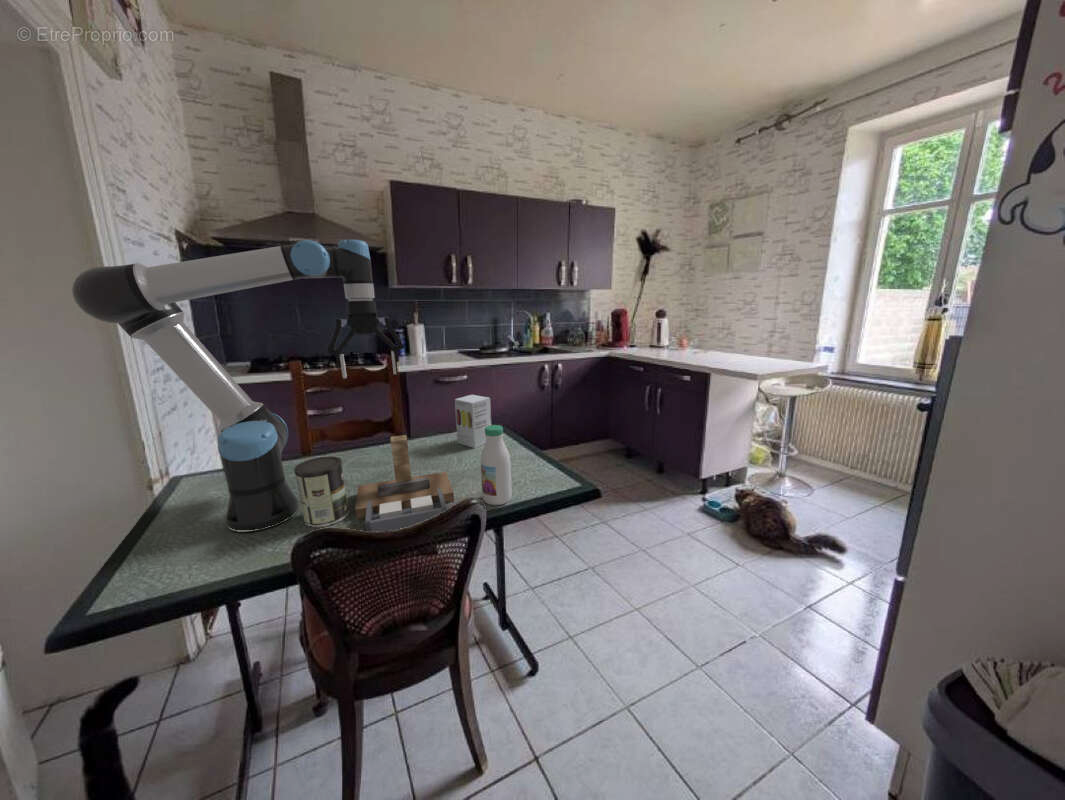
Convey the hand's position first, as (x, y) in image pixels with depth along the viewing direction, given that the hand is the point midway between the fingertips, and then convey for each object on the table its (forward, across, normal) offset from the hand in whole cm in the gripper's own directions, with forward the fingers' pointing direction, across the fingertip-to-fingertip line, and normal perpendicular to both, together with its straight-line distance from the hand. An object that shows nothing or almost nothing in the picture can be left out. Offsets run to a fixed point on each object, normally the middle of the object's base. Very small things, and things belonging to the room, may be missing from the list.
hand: (370, 375), depth 119 cm
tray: (+31, -6, +31) cm, 44 cm away
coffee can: (+31, +13, +22) cm, 40 cm away
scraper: (+28, -6, +18) cm, 34 cm away
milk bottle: (+31, -29, +29) cm, 51 cm away
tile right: (+30, -10, +30) cm, 44 cm away
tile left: (+30, -2, +30) cm, 43 cm away
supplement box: (+31, -32, -16) cm, 47 cm away
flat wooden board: (+31, -6, +19) cm, 37 cm away
